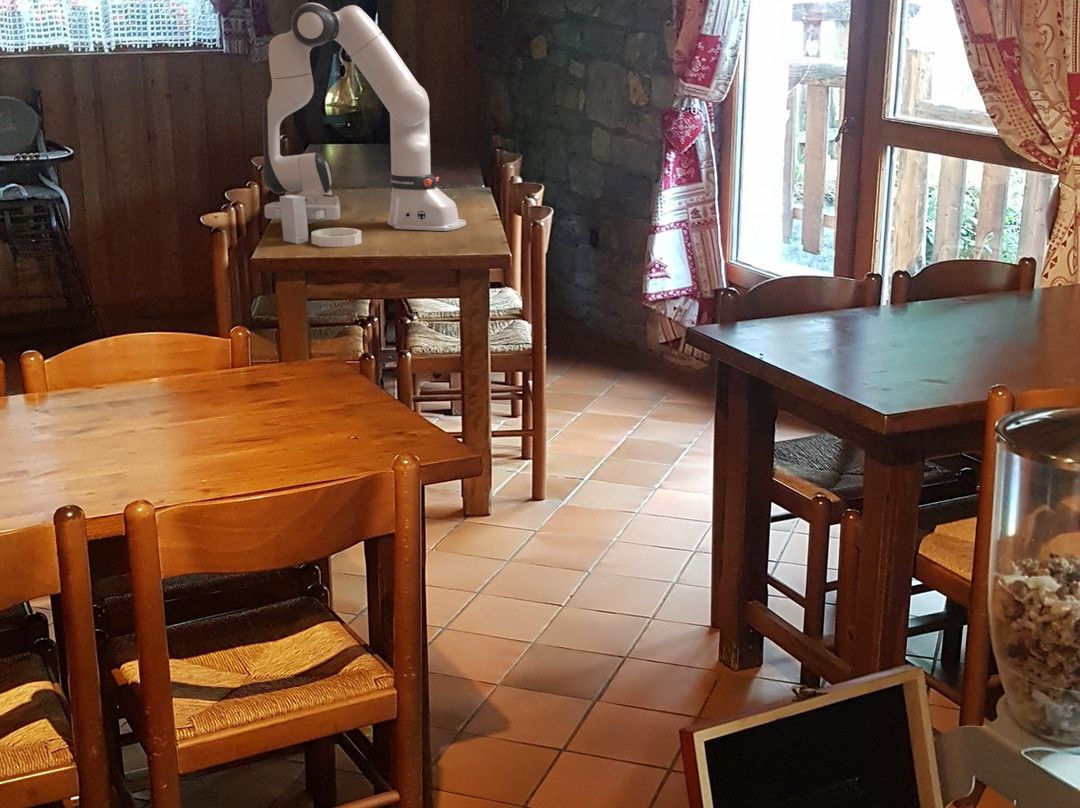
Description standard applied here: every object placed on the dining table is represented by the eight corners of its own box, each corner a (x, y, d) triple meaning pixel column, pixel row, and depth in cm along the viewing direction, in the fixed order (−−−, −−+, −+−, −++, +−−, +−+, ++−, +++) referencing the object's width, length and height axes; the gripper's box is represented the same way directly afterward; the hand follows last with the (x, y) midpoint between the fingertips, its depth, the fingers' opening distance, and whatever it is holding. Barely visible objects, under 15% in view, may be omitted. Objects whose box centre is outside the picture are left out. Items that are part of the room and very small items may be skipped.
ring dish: (370, 239, 331) (370, 230, 330) (345, 248, 319) (345, 238, 318) (328, 235, 335) (328, 226, 334) (302, 244, 324) (301, 234, 323)
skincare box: (309, 242, 327) (307, 196, 323) (295, 244, 324) (292, 198, 320) (295, 239, 331) (292, 193, 327) (281, 241, 328) (278, 195, 324)
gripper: (270, 195, 339) (257, 203, 326) (344, 196, 339) (334, 204, 326) (271, 217, 341) (258, 227, 328) (345, 219, 341) (335, 228, 328)
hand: (296, 216), depth 327 cm, fingers open, 8 cm apart
